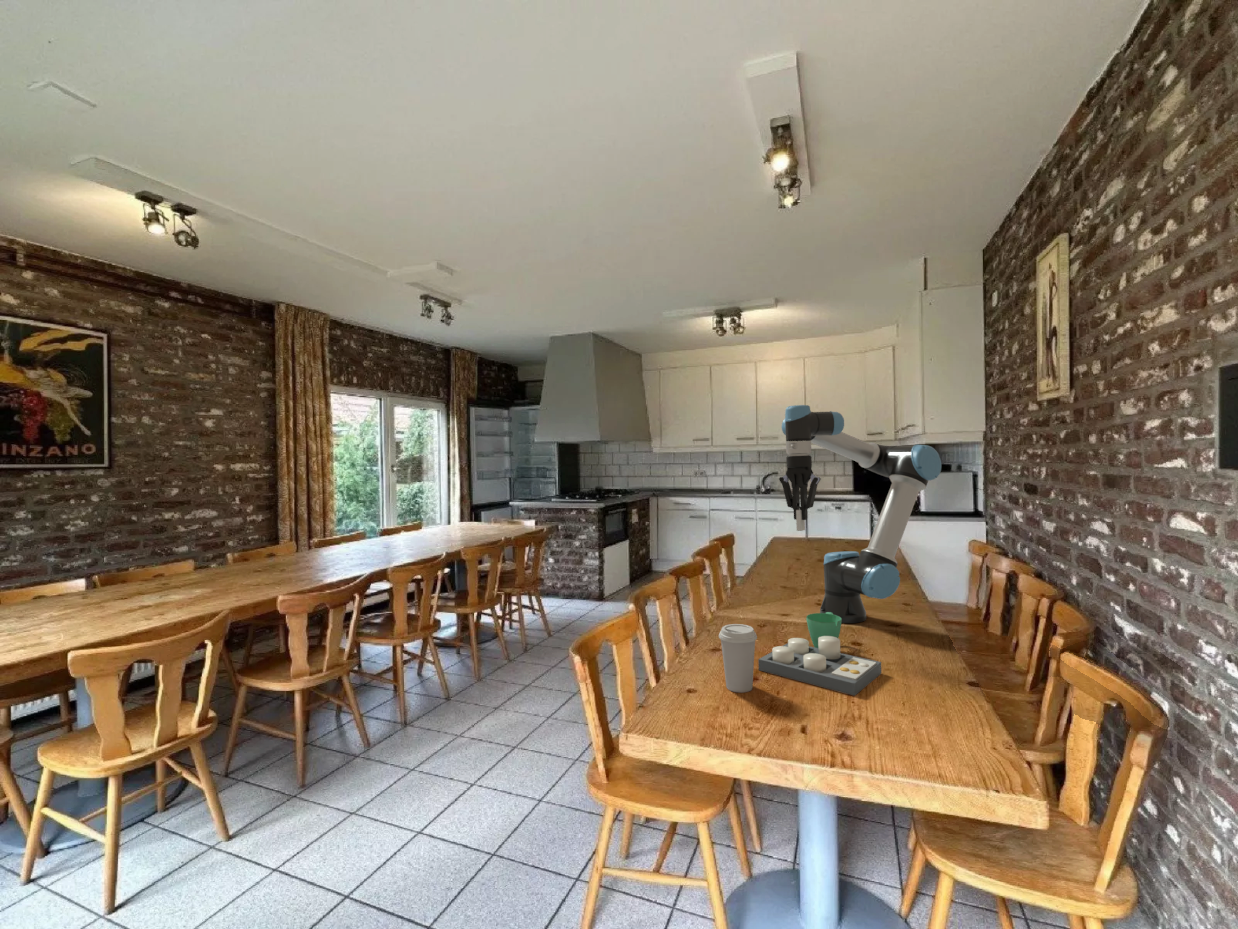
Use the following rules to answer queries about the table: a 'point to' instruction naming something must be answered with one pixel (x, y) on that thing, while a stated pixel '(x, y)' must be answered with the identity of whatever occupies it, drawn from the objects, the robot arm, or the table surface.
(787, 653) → the button
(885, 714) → the table surface
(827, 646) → the button
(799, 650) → the button
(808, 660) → the button
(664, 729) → the table surface
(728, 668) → the coffee cup
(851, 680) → the board
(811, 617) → the mug
